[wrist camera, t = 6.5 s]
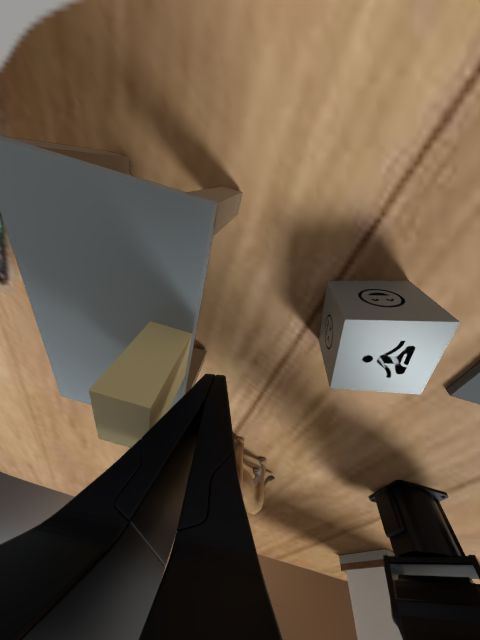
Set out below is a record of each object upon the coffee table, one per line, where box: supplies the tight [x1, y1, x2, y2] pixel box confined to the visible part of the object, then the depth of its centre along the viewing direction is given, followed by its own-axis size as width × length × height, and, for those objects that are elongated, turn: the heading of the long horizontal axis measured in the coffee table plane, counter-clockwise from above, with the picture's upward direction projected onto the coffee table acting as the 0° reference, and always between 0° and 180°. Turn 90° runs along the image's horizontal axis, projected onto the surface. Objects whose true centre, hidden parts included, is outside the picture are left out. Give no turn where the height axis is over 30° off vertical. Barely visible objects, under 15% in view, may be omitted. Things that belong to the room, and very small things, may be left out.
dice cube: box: [319, 281, 460, 394], centre depth 14 cm, size 5×5×5 cm
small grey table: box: [0, 136, 242, 448], centre depth 12 cm, size 8×14×11 cm, turn 166°
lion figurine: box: [236, 437, 275, 514], centre depth 26 cm, size 12×4×7 cm, turn 43°
